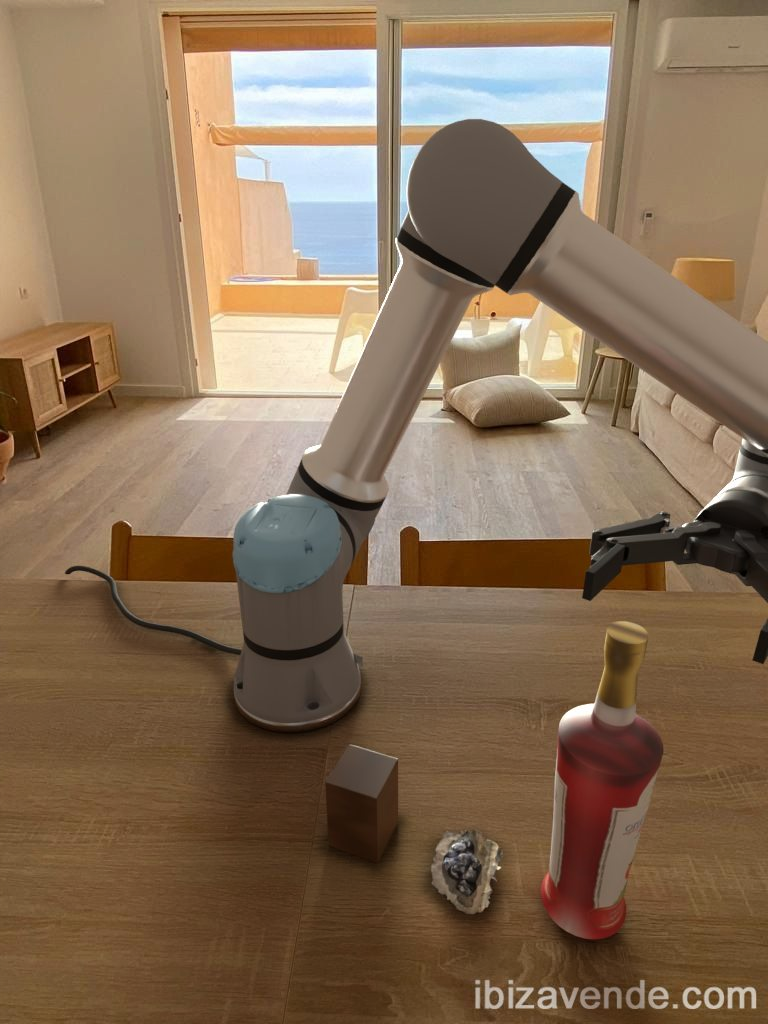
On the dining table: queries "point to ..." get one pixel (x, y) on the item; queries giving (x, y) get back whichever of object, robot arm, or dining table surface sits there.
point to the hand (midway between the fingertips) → (668, 614)
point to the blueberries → (466, 869)
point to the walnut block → (362, 802)
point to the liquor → (601, 794)
